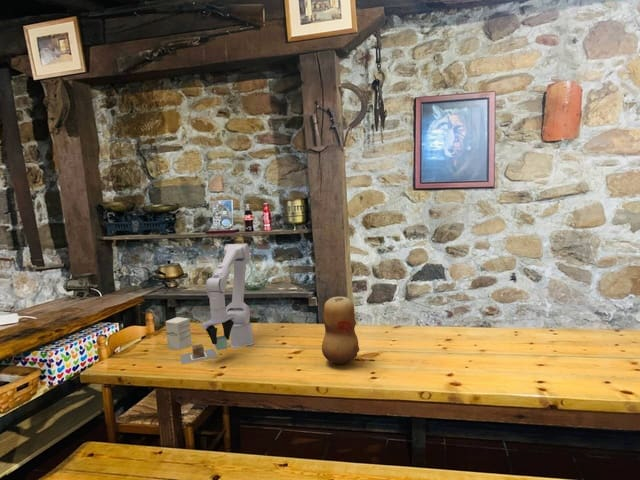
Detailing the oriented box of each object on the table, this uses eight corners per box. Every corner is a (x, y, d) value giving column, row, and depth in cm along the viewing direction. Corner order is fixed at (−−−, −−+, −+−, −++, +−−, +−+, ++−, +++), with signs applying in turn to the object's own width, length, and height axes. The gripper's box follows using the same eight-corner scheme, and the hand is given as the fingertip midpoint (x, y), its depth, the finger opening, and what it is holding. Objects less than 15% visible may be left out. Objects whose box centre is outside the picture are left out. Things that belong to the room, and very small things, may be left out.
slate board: (214, 349, 179) (213, 348, 179) (218, 358, 169) (218, 357, 169) (179, 356, 174) (179, 354, 174) (181, 365, 164) (181, 364, 164)
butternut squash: (328, 372, 150) (325, 304, 148) (318, 359, 163) (315, 296, 160) (365, 366, 154) (362, 300, 151) (352, 353, 167) (349, 291, 164)
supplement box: (167, 349, 183) (164, 321, 181) (180, 343, 189) (177, 316, 188) (179, 351, 179) (176, 323, 178) (192, 345, 186) (189, 318, 184)
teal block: (225, 345, 168) (224, 335, 168) (227, 348, 165) (226, 338, 164) (215, 347, 167) (214, 337, 166) (217, 350, 163) (216, 340, 163)
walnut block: (202, 353, 174) (202, 344, 174) (204, 356, 171) (203, 347, 170) (192, 355, 173) (192, 345, 172) (194, 358, 169) (193, 349, 169)
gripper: (226, 302, 172) (229, 334, 174) (195, 311, 161) (199, 345, 163) (237, 304, 167) (240, 337, 169) (206, 313, 157) (209, 349, 158)
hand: (220, 341), depth 166 cm, fingers closed on teal block, 5 cm apart
